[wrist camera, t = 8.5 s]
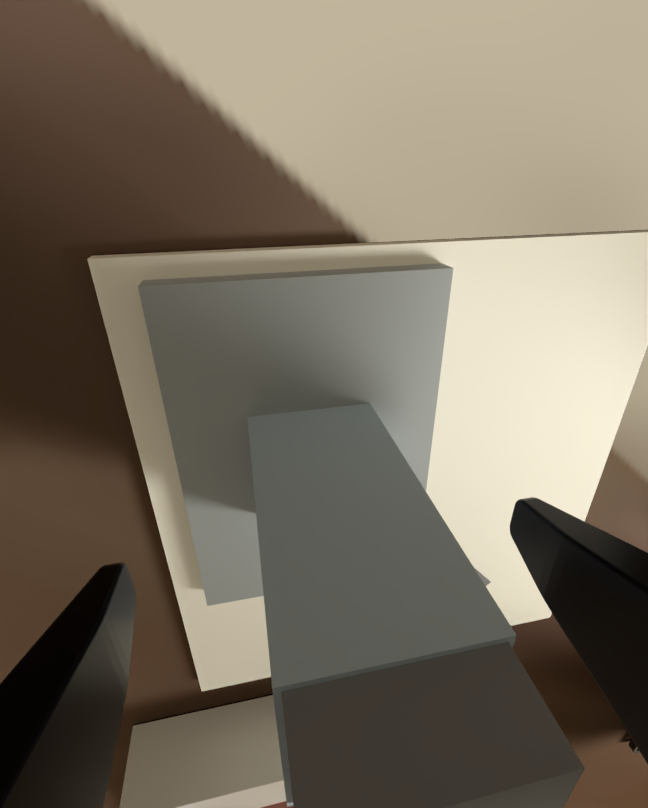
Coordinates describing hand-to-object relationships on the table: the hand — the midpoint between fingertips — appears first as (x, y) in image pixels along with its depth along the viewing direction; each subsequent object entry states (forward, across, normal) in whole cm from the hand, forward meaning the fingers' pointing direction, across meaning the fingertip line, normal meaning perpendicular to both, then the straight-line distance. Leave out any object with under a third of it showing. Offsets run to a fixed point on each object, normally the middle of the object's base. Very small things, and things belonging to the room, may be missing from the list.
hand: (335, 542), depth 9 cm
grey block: (+3, 0, 0) cm, 3 cm away
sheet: (+4, -3, +2) cm, 6 cm away
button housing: (+4, +3, +17) cm, 18 cm away
